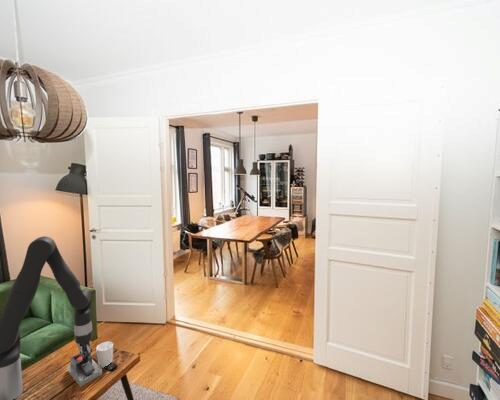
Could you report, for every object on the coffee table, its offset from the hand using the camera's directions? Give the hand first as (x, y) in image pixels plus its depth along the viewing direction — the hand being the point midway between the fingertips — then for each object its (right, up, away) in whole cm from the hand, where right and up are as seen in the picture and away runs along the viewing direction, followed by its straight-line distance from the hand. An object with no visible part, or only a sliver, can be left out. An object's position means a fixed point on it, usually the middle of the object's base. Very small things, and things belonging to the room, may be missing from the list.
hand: (85, 362), depth 134 cm
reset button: (-4, -1, +3) cm, 5 cm away
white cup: (+6, -6, +8) cm, 12 cm away
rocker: (+2, -1, -2) cm, 3 cm away
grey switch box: (-1, -6, +1) cm, 6 cm away
